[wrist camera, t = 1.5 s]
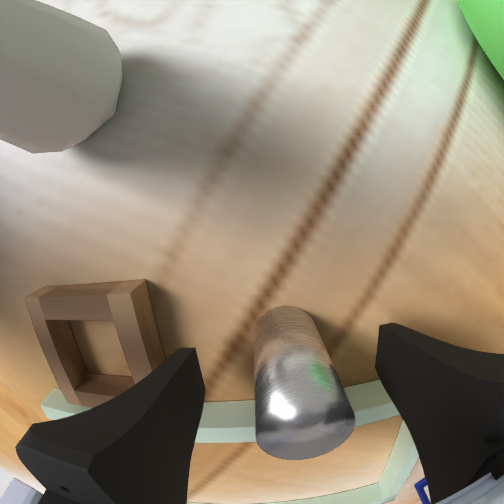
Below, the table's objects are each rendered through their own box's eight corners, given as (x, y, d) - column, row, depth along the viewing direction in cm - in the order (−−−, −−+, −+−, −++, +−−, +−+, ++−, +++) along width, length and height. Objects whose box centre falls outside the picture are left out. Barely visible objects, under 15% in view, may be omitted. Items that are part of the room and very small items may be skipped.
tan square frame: (176, 393, 13) (168, 416, 11) (80, 386, 13) (67, 403, 12) (145, 279, 12) (130, 293, 10) (44, 286, 12) (24, 298, 10)
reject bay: (388, 484, 16) (394, 499, 14) (129, 497, 16) (124, 512, 14) (432, 364, 13) (449, 382, 11) (54, 387, 13) (39, 404, 12)
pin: (316, 355, 13) (349, 450, 7) (257, 362, 13) (260, 463, 7) (314, 302, 12) (360, 388, 6) (250, 309, 12) (249, 404, 6)
